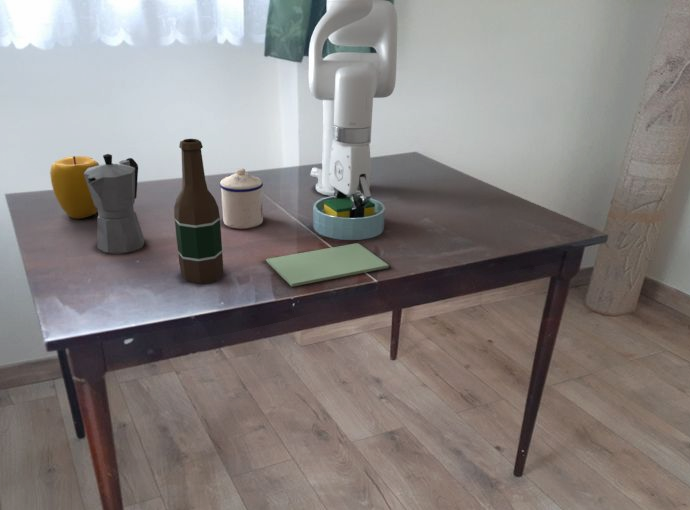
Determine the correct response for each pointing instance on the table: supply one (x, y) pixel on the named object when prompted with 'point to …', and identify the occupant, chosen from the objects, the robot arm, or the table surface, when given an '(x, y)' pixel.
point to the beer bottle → (197, 220)
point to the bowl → (348, 223)
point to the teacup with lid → (242, 200)
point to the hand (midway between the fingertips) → (348, 219)
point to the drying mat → (325, 264)
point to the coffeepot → (115, 205)
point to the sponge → (345, 207)
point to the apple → (73, 186)
